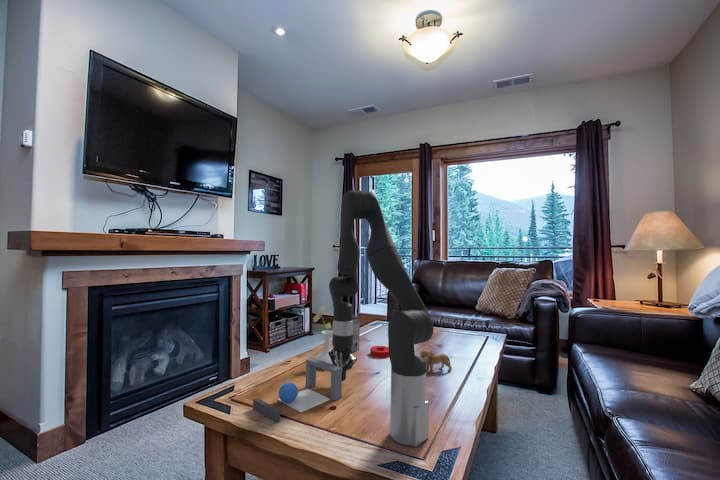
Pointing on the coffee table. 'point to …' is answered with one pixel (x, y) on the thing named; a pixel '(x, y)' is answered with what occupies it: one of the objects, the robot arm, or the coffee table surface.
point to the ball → (288, 392)
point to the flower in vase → (327, 335)
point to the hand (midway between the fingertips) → (341, 380)
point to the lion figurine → (435, 360)
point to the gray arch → (335, 370)
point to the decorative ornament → (379, 351)
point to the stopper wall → (266, 409)
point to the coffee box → (356, 333)
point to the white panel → (306, 400)
